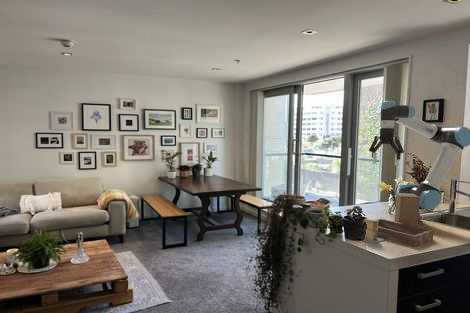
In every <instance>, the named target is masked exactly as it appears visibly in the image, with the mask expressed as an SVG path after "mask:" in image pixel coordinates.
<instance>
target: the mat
mask: <svg viewBox="0 0 470 313" xmlns="http://www.w3.org/2000/svg"><path fill="white" fill-rule="evenodd" d="M362 242H366V243H369V244H371V245H375V244H378V243H381V242H385V238H381V237H377V239H376V240H373V241H371V240H367V239H364V240H363V241H362Z"/></svg>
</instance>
